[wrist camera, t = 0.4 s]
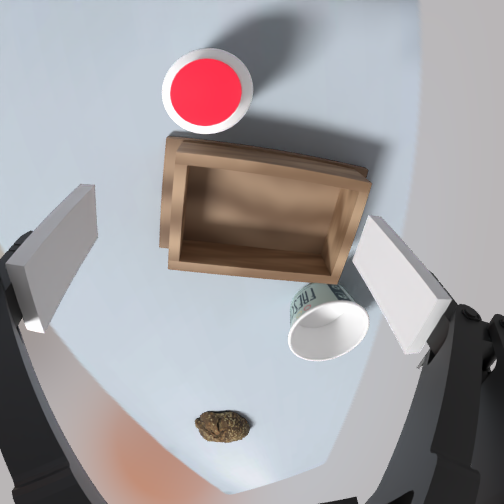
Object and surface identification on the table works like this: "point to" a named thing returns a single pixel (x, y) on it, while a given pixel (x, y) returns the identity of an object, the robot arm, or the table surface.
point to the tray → (258, 211)
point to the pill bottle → (207, 91)
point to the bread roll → (222, 426)
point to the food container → (325, 322)
